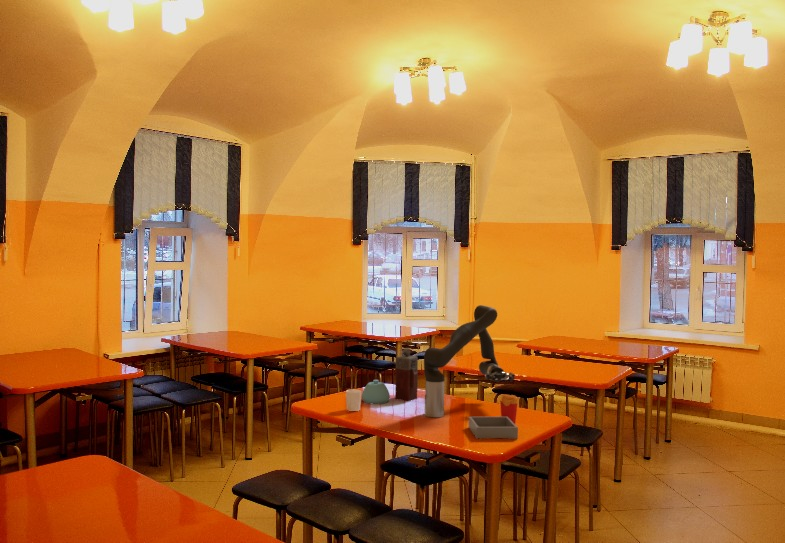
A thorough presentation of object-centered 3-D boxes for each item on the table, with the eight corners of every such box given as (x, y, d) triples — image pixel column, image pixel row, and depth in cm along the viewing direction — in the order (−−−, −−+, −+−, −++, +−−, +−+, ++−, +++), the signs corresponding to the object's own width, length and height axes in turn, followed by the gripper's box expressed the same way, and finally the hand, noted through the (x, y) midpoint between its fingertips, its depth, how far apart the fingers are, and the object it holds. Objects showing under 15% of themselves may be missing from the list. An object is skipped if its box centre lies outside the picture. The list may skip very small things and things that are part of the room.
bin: (476, 439, 267) (476, 427, 267) (468, 427, 285) (469, 416, 285) (517, 438, 269) (517, 427, 269) (507, 427, 287) (507, 416, 286)
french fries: (498, 420, 298) (498, 393, 298) (504, 419, 301) (504, 392, 300) (513, 424, 291) (514, 397, 291) (519, 423, 294) (519, 396, 293)
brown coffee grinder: (412, 401, 334) (413, 350, 333) (395, 399, 340) (395, 348, 339) (420, 398, 342) (421, 348, 341) (403, 396, 348) (404, 346, 347)
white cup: (355, 413, 309) (355, 393, 308) (342, 410, 313) (342, 391, 312) (364, 410, 315) (364, 390, 315) (351, 407, 319) (351, 388, 319)
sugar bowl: (373, 396, 345) (373, 376, 345) (395, 400, 336) (395, 379, 336) (356, 401, 333) (356, 380, 333) (378, 406, 324) (378, 384, 324)
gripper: (482, 365, 324) (489, 371, 308) (509, 365, 325) (517, 371, 309) (482, 380, 324) (488, 386, 308) (509, 379, 325) (517, 386, 309)
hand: (503, 379), depth 308 cm, fingers open, 8 cm apart
